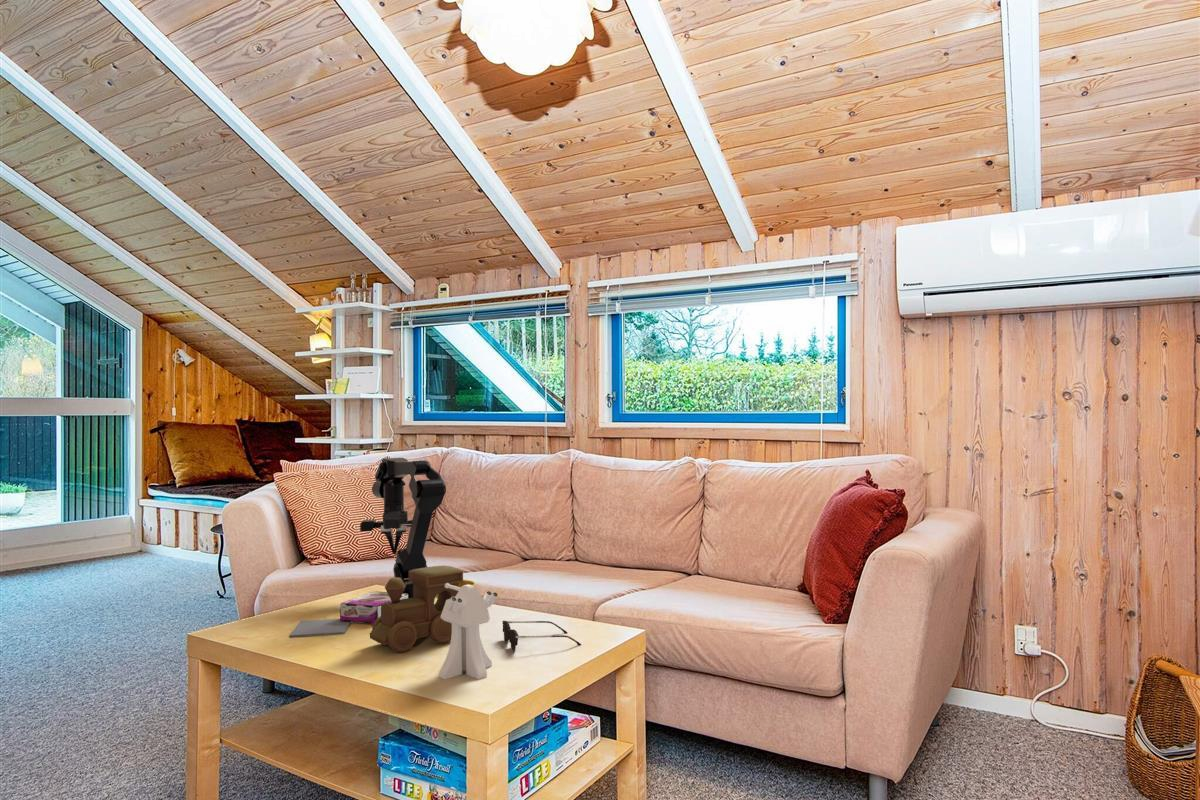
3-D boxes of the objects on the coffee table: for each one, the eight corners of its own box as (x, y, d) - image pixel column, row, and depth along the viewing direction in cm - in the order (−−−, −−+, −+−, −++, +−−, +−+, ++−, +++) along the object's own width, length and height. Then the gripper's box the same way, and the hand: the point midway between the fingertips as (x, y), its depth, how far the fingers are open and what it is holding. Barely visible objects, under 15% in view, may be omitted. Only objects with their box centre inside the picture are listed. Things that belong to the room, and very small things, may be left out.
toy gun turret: (470, 657, 176) (469, 575, 176) (506, 671, 166) (505, 584, 167) (422, 670, 168) (421, 584, 168) (458, 685, 158) (457, 593, 158)
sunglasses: (501, 640, 191) (502, 618, 191) (565, 637, 196) (566, 616, 196) (514, 656, 178) (515, 633, 178) (583, 652, 183) (584, 630, 183)
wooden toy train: (443, 630, 199) (442, 563, 199) (466, 640, 190) (465, 570, 190) (366, 646, 186) (365, 574, 186) (387, 657, 177) (386, 582, 178)
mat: (352, 619, 210) (352, 617, 210) (344, 634, 197) (344, 631, 197) (300, 622, 208) (300, 620, 208) (289, 637, 194) (289, 635, 194)
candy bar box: (339, 602, 207) (372, 590, 223) (339, 621, 206) (372, 608, 222) (378, 605, 204) (409, 592, 220) (378, 624, 204) (408, 611, 220)
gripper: (357, 504, 226) (357, 560, 225) (425, 502, 229) (425, 557, 229) (362, 500, 237) (362, 553, 236) (426, 498, 240) (427, 550, 239)
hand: (394, 553), depth 235 cm, fingers closed
